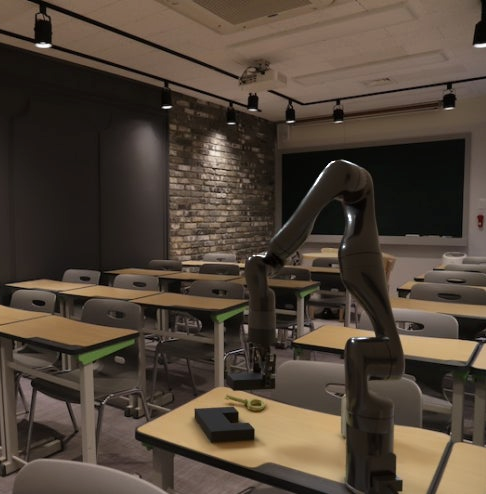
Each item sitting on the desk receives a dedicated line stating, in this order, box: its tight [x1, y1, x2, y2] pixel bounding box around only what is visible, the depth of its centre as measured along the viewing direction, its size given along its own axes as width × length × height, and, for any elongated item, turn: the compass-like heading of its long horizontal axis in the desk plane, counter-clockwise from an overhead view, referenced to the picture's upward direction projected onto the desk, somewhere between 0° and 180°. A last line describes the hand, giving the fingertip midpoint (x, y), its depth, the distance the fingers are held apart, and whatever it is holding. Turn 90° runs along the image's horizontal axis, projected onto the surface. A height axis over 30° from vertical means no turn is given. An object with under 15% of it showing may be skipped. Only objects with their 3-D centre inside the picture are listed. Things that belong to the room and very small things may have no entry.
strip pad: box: [225, 371, 276, 392], centre depth 138 cm, size 6×12×3 cm, turn 96°
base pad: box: [194, 406, 256, 444], centre depth 137 cm, size 16×12×3 cm
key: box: [224, 394, 266, 412], centre depth 154 cm, size 7×12×2 cm, turn 77°
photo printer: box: [340, 393, 346, 438], centre depth 133 cm, size 10×4×12 cm, turn 123°
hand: (261, 383), depth 138 cm, fingers closed on strip pad, 6 cm apart
